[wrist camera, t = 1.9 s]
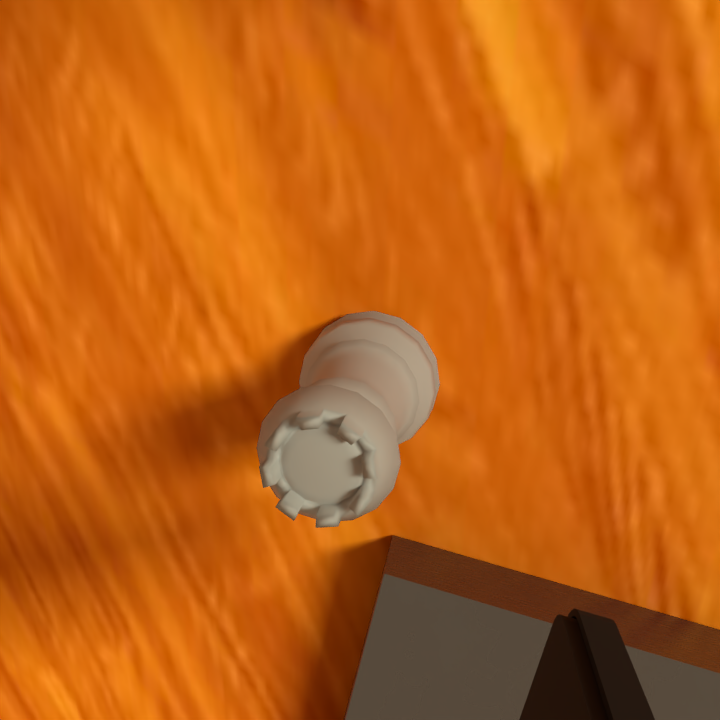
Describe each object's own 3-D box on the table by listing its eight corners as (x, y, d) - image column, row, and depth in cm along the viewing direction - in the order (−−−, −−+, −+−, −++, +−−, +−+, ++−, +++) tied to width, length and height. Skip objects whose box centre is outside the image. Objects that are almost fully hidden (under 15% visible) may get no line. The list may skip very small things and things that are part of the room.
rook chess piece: (468, 383, 20) (471, 489, 12) (368, 463, 21) (313, 605, 14) (377, 279, 20) (322, 323, 12) (281, 367, 21) (174, 456, 13)
